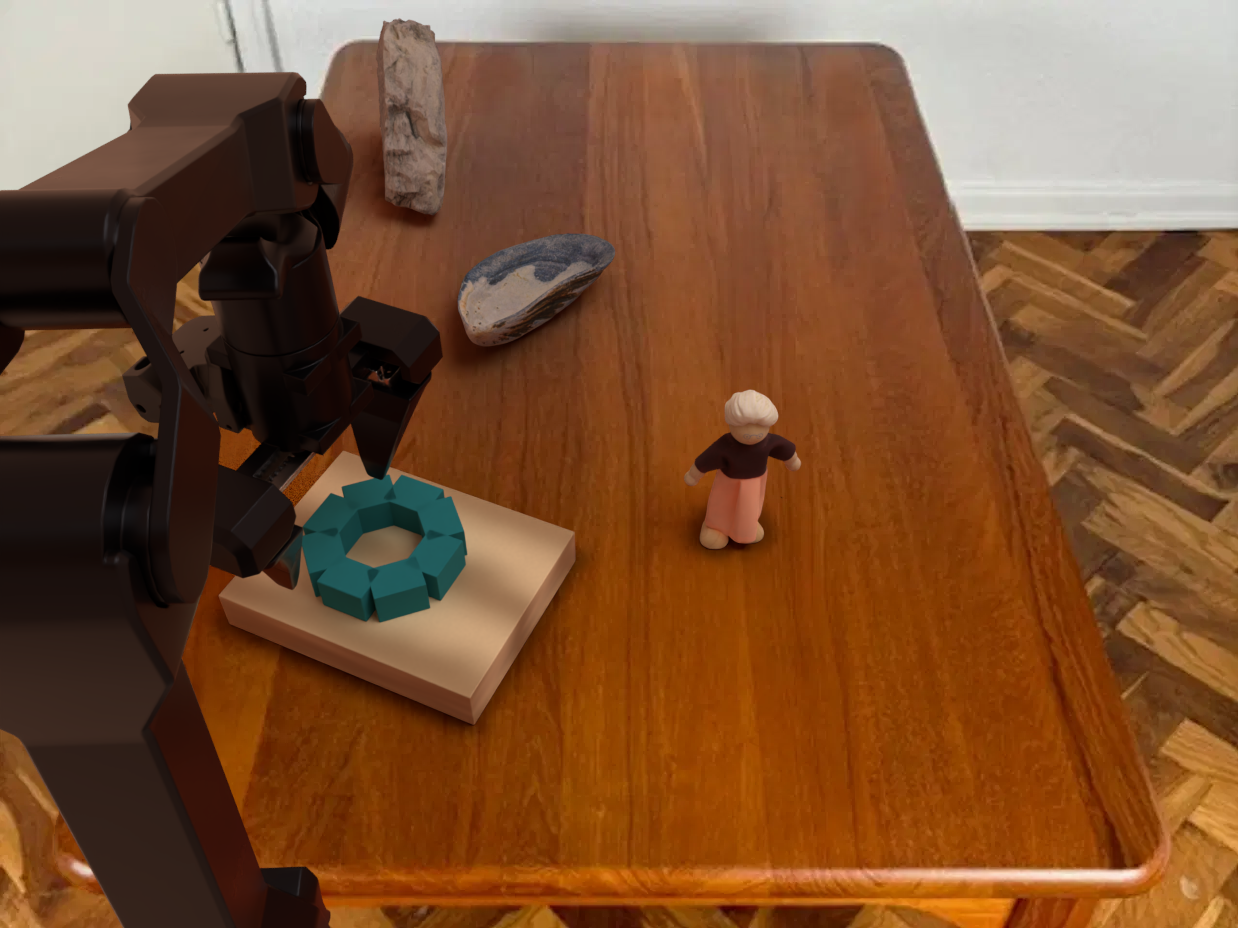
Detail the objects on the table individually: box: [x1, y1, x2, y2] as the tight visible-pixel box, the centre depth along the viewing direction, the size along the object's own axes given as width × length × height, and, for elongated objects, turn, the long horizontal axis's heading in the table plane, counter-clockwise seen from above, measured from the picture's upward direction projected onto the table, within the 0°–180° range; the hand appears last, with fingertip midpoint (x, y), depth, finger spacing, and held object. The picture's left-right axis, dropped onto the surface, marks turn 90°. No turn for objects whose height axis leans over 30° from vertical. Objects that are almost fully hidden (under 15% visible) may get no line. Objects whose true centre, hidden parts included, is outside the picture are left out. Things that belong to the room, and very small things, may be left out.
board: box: [218, 450, 577, 726], centre depth 77 cm, size 14×18×3 cm
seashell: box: [456, 232, 616, 347], centre depth 96 cm, size 15×12×5 cm
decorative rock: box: [375, 17, 448, 216], centre depth 107 cm, size 16×7×15 cm, turn 8°
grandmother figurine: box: [683, 389, 802, 550], centre depth 78 cm, size 8×4×13 cm, turn 111°
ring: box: [302, 474, 467, 622], centre depth 76 cm, size 10×10×2 cm
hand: (333, 528), depth 69 cm, fingers open, 9 cm apart
